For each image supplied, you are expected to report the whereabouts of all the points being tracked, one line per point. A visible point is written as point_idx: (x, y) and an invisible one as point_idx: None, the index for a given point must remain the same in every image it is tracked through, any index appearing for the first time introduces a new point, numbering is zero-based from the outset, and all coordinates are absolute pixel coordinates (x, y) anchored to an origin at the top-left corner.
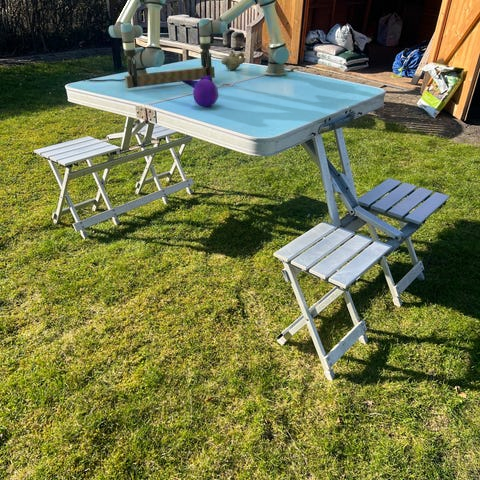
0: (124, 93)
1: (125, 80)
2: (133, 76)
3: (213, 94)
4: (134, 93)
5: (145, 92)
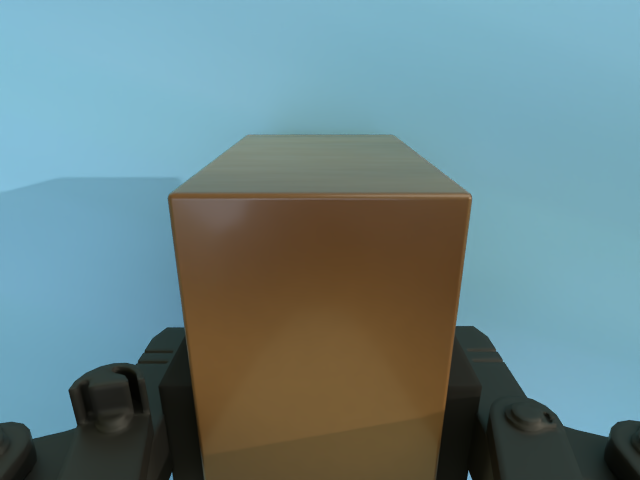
0: (199, 22)
1: (387, 160)
2: (97, 417)
3: None
4: (115, 185)
5: (113, 343)
